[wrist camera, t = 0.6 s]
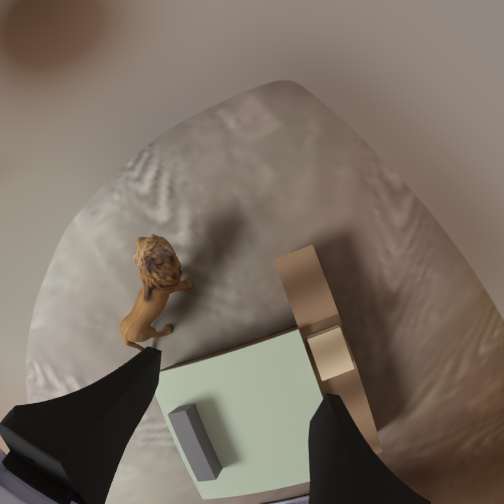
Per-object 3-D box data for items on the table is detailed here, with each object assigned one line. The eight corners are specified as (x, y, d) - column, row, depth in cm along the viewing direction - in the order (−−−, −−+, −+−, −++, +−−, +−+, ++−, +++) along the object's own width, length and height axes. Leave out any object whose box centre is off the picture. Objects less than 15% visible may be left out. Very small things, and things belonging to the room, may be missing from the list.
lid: (346, 465, 25) (349, 482, 21) (205, 495, 26) (195, 510, 23) (298, 328, 28) (297, 331, 25) (152, 373, 30) (136, 379, 26)
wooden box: (373, 434, 29) (382, 451, 24) (217, 475, 31) (205, 494, 26) (311, 253, 34) (312, 244, 29) (154, 311, 36) (133, 311, 31)
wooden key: (350, 363, 27) (354, 368, 24) (320, 374, 27) (322, 381, 25) (337, 325, 28) (340, 327, 25) (307, 336, 28) (307, 339, 25)
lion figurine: (166, 241, 37) (129, 223, 29) (204, 254, 36) (173, 238, 28) (132, 350, 36) (89, 359, 27) (167, 368, 35) (129, 383, 26)
